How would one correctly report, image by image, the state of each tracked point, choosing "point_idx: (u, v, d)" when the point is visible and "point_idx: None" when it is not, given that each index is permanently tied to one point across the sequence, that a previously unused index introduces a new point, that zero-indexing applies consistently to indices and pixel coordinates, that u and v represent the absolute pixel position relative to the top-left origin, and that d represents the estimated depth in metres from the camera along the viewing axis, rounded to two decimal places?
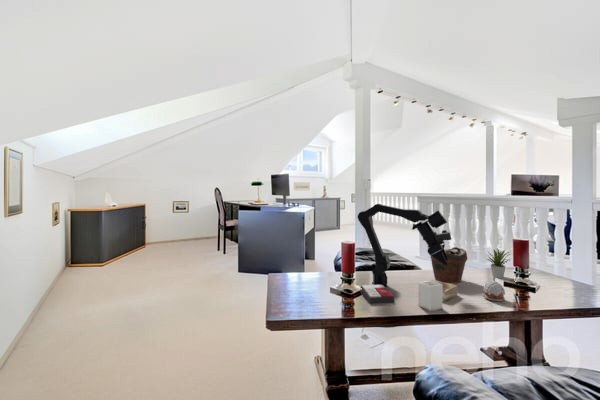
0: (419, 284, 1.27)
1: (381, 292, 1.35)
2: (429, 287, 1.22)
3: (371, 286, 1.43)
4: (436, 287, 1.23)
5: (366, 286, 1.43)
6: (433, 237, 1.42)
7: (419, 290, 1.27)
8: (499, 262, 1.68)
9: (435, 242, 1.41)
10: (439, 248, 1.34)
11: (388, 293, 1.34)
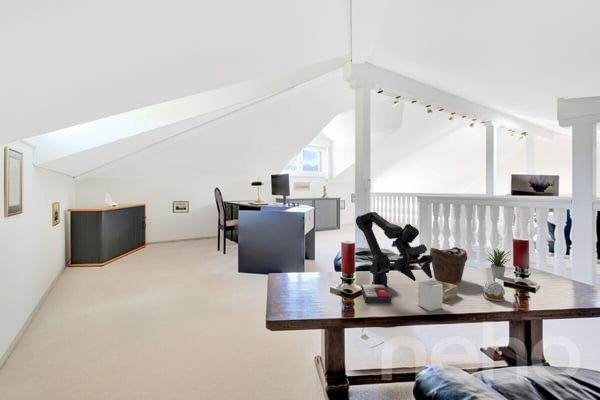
0: (419, 284, 1.27)
1: (379, 292, 1.36)
2: (429, 287, 1.22)
3: (371, 286, 1.44)
4: (436, 287, 1.23)
5: (366, 285, 1.44)
6: (405, 253, 1.36)
7: (419, 290, 1.27)
8: (499, 262, 1.68)
9: (407, 257, 1.34)
10: (399, 262, 1.29)
11: (385, 293, 1.34)
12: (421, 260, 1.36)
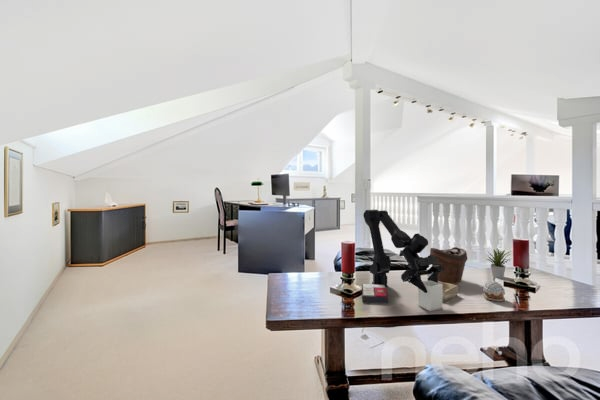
0: None
1: (377, 292, 1.36)
2: (429, 287, 1.22)
3: (371, 285, 1.44)
4: (436, 287, 1.23)
5: (366, 285, 1.45)
6: (413, 263, 1.31)
7: (419, 290, 1.27)
8: (499, 262, 1.68)
9: (416, 268, 1.30)
10: (407, 274, 1.25)
11: (383, 293, 1.34)
12: (428, 271, 1.31)
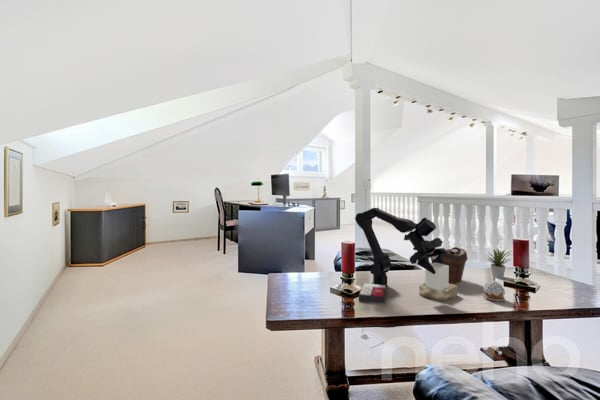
0: None
1: (374, 291, 1.37)
2: (437, 268, 1.28)
3: (372, 285, 1.45)
4: (443, 268, 1.29)
5: (367, 284, 1.46)
6: (420, 246, 1.36)
7: (427, 272, 1.32)
8: (499, 262, 1.68)
9: (423, 251, 1.34)
10: (417, 256, 1.29)
11: (380, 293, 1.34)
12: (433, 254, 1.37)
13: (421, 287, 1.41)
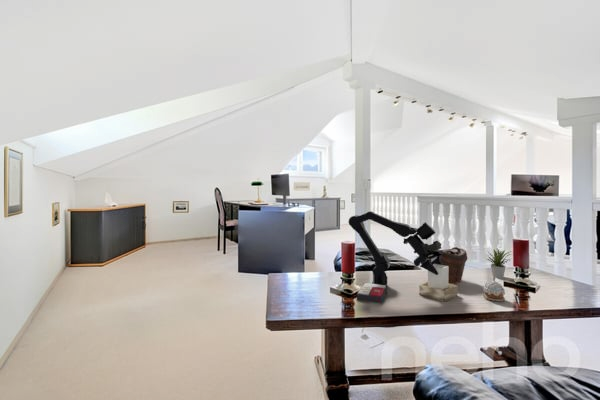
0: None
1: (373, 291, 1.37)
2: (440, 269, 1.36)
3: (372, 285, 1.45)
4: (445, 269, 1.38)
5: (367, 284, 1.46)
6: (421, 249, 1.44)
7: (429, 273, 1.40)
8: (499, 262, 1.68)
9: (424, 253, 1.43)
10: (422, 259, 1.36)
11: (378, 293, 1.35)
12: (432, 256, 1.46)
13: (421, 287, 1.41)
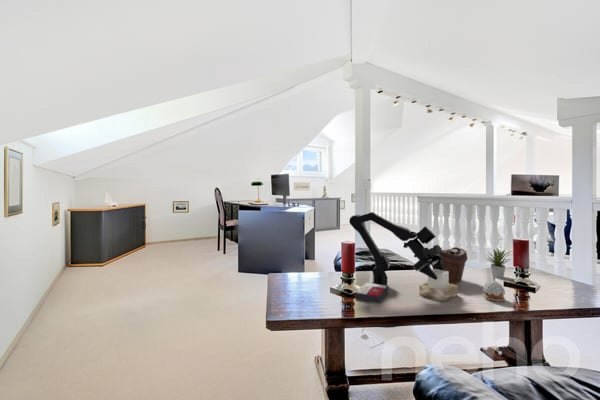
0: None
1: (372, 291, 1.37)
2: (440, 274, 1.36)
3: (372, 285, 1.45)
4: (445, 274, 1.38)
5: (368, 284, 1.47)
6: (421, 253, 1.44)
7: (429, 279, 1.40)
8: (499, 262, 1.68)
9: (424, 258, 1.43)
10: (422, 263, 1.36)
11: (377, 293, 1.35)
12: (433, 259, 1.47)
13: (421, 287, 1.41)
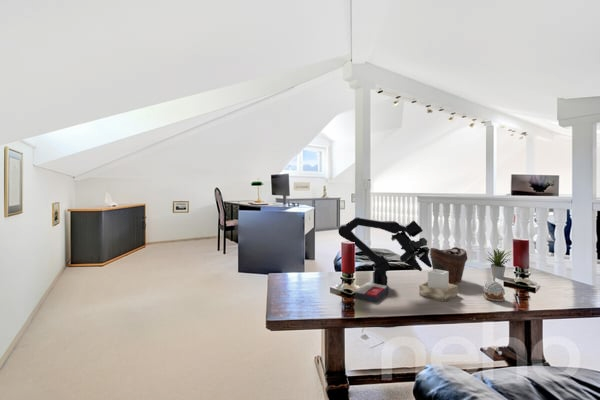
0: (429, 273, 1.40)
1: (370, 290, 1.38)
2: (440, 274, 1.36)
3: (373, 284, 1.46)
4: (445, 274, 1.38)
5: (369, 283, 1.47)
6: (408, 246, 1.49)
7: (429, 279, 1.40)
8: (499, 262, 1.68)
9: (411, 250, 1.48)
10: (407, 255, 1.42)
11: (375, 292, 1.35)
12: (420, 252, 1.52)
13: (421, 287, 1.41)
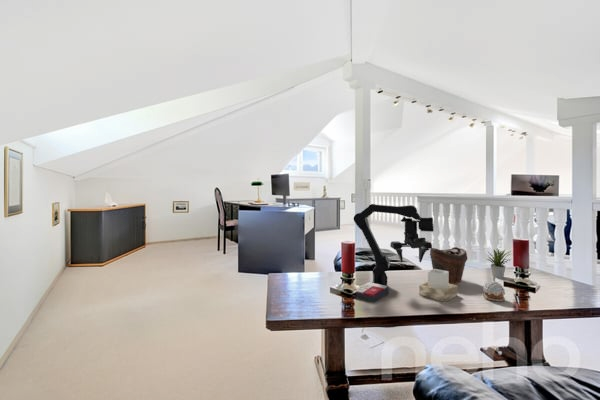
0: (429, 273, 1.40)
1: (369, 290, 1.39)
2: (440, 274, 1.36)
3: (374, 284, 1.46)
4: (445, 274, 1.38)
5: (369, 283, 1.48)
6: (406, 237, 1.49)
7: (429, 279, 1.40)
8: (499, 262, 1.68)
9: None
10: (393, 247, 1.48)
11: (373, 292, 1.36)
12: None
13: (421, 287, 1.41)
